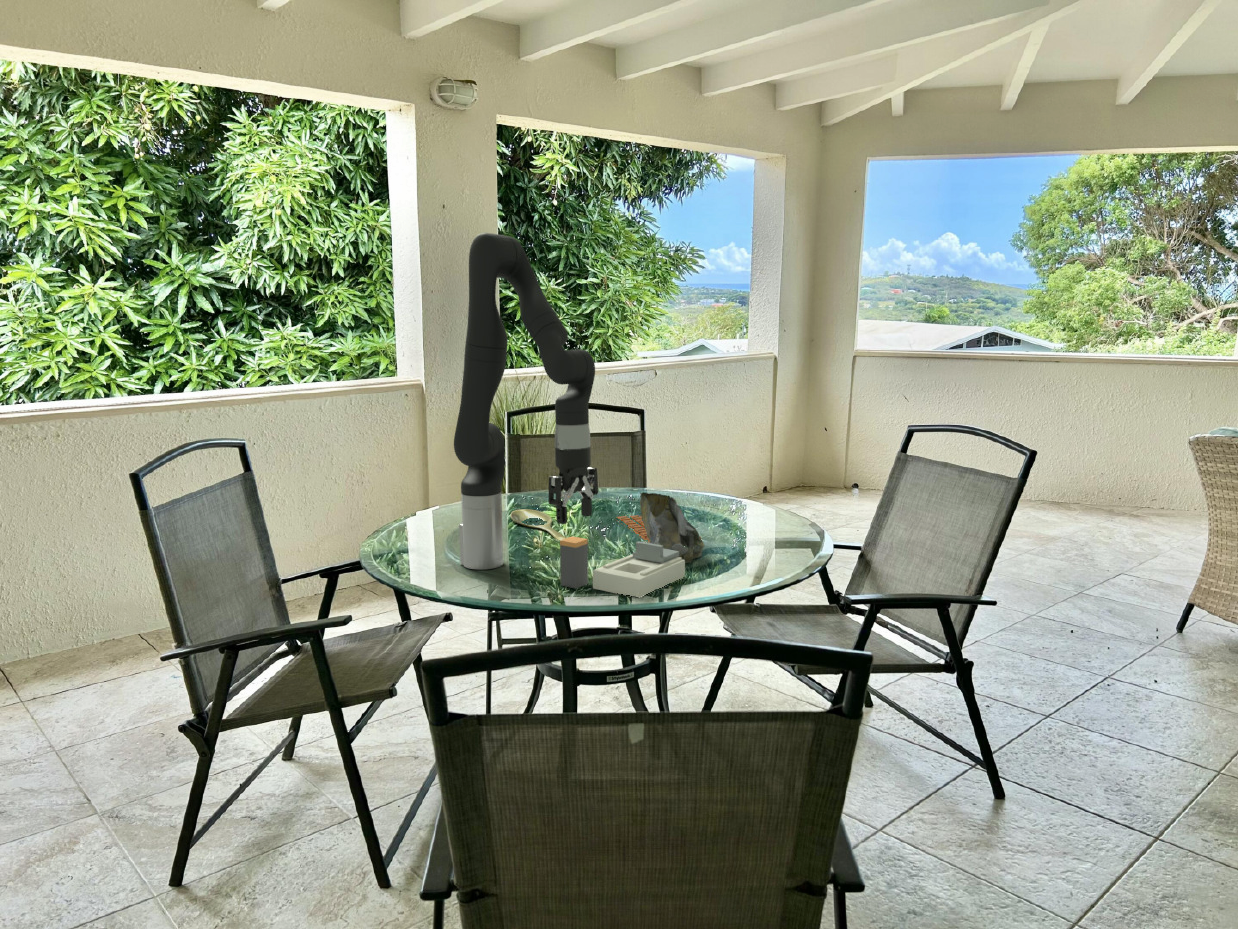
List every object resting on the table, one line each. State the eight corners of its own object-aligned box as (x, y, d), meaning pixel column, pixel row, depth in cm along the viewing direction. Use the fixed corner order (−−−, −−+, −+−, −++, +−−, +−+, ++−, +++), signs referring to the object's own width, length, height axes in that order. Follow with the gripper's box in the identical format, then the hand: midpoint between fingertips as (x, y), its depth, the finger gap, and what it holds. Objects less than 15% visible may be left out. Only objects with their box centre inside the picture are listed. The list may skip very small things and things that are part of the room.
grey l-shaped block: (632, 557, 202) (632, 541, 202) (649, 551, 208) (649, 535, 207) (663, 563, 198) (663, 547, 197) (679, 556, 203) (679, 540, 203)
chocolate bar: (662, 517, 264) (662, 512, 263) (703, 541, 236) (703, 536, 235) (615, 520, 259) (615, 516, 259) (650, 546, 231) (650, 540, 231)
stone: (696, 589, 213) (694, 533, 240) (707, 551, 209) (704, 499, 237) (625, 572, 212) (631, 518, 240) (635, 535, 208) (640, 484, 236)
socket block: (592, 588, 194) (592, 568, 194) (639, 568, 209) (639, 549, 208) (639, 598, 188) (639, 577, 187) (684, 577, 202) (684, 557, 201)
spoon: (587, 548, 235) (587, 540, 234) (549, 553, 230) (549, 545, 230) (537, 513, 265) (537, 506, 265) (502, 516, 261) (502, 509, 260)
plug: (560, 585, 197) (560, 540, 195) (572, 580, 200) (572, 536, 198) (576, 588, 194) (575, 543, 193) (588, 583, 198) (587, 539, 196)
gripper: (579, 439, 200) (580, 511, 203) (537, 447, 189) (539, 524, 191) (606, 441, 196) (608, 515, 199) (565, 450, 184) (567, 528, 187)
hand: (574, 519), depth 195 cm, fingers open, 8 cm apart
